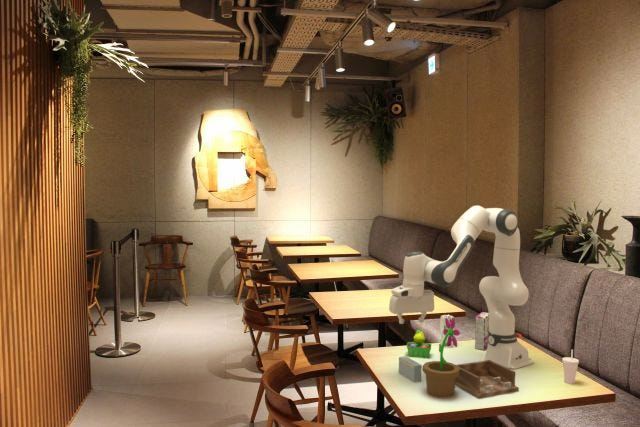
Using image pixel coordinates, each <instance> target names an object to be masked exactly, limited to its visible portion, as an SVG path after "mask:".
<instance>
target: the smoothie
mask: <svg viewBox="0 0 640 427" xmlns="http://www.w3.org/2000/svg"><path fill="white" fill-rule="evenodd" d="M570 351H571V353H570V356H567V357H566V356H565V357H562V359H561V360H562V361H561V362H562V366H563V377H564V378H563V379H564V383H565V384H569V385H574V384H575V382H576V377H577V372H578V371H577V370H578V367H579V366H578V365H579V363H580V361H579V359H577V358H574V357H573V356H574V349H571V350H570Z"/></svg>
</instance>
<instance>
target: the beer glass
mask: <svg viewBox="0 0 640 427" xmlns="http://www.w3.org/2000/svg"><path fill="white" fill-rule="evenodd" d="M446 318H447V319H448V320H449V322H450V323H451V320H452V318H454V319H455V317H454V316H453V315H450V314H443V315H440V320H439V329H440V330H439V332H440V337H441V338H440V344H441V345H442V342H443V340H444V338H445V336H446V335H444V334H443V330H444V329H448V328H447V326H446V324H445V319H446ZM450 328H451V326H450ZM448 330H449V329H448ZM453 330H455V327H454V328H453ZM449 336H450V335H449ZM449 336H448V337H449ZM448 337H447V339H446V341H445V344H444V348H446V349H450V348H453V347H454V345H453V342H452V343H451V345H450V347H449V346H448V344H447V340H448ZM451 338H452V337H451Z"/></svg>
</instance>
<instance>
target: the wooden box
mask: <svg viewBox="0 0 640 427" xmlns="http://www.w3.org/2000/svg"><path fill="white" fill-rule="evenodd" d="M456 365H457V366H458V367H459V368H460V374H459V376H458V377H457V378H456V384H455V387H457V388H458V389H461V390H462V391H464V392H466V393H468V394H469V395H472V396H473V397H475V398H477V399H478V400H479V399H482V398H484V399H485V398H489V397H494V396H500V395H504V394H511V393H515V392H519V390H520V388H519V386H517V385H516V371H515V370H514V369H513V370H512V369H511V368H506V367H504V366H502V365H500V364H497V363H495V362H493V361H491V360H486V361H484V360H479V361H473V362H468V363H461V364H460V363H459V364H456Z"/></svg>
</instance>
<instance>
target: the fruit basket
mask: <svg viewBox="0 0 640 427" xmlns="http://www.w3.org/2000/svg"><path fill="white" fill-rule="evenodd" d="M425 339H426V337H425V334H424V332H423V331H422V330H418V329H417V330H416V331H415V333H414V336H413V341H408V342H407V343H406V349H407V353H408V357H414V358H415V357H416V358H425V359H427V358H429V356H430V353H431V350H432V346H433V345H432V343H429V342H428V343H427V342H425V341H426V340H425Z"/></svg>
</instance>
